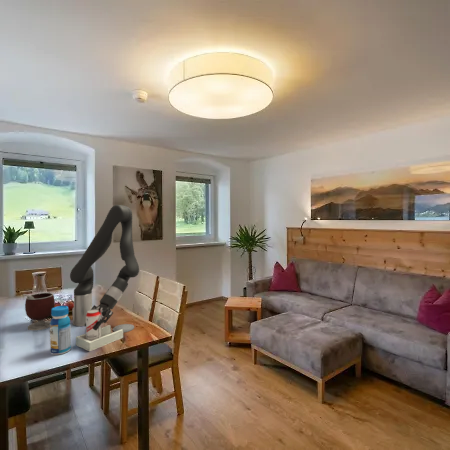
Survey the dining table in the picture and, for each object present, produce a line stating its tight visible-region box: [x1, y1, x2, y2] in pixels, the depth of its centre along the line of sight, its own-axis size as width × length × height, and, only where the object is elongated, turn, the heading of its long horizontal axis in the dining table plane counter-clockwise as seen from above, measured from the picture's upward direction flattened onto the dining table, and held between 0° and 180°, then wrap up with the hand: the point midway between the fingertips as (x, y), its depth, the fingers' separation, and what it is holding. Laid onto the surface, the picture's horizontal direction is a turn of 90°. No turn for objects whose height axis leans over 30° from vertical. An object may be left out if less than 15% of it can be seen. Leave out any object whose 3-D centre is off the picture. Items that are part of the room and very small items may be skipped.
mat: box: [112, 323, 135, 334], centre depth 159 cm, size 11×11×1 cm
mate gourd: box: [22, 292, 56, 332], centre depth 162 cm, size 16×14×20 cm
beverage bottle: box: [49, 305, 72, 356], centre depth 133 cm, size 8×8×20 cm
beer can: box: [85, 309, 101, 341], centre depth 140 cm, size 6×6×16 cm
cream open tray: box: [75, 324, 124, 352], centre depth 143 cm, size 18×11×4 cm, turn 146°
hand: (90, 327), depth 139 cm, fingers closed on beer can, 6 cm apart
